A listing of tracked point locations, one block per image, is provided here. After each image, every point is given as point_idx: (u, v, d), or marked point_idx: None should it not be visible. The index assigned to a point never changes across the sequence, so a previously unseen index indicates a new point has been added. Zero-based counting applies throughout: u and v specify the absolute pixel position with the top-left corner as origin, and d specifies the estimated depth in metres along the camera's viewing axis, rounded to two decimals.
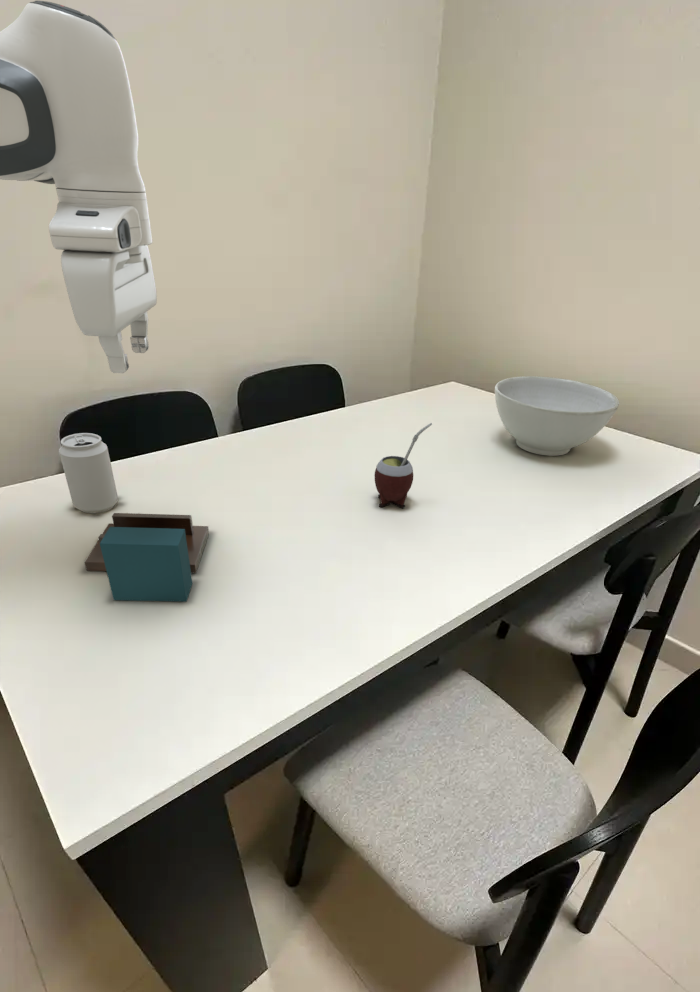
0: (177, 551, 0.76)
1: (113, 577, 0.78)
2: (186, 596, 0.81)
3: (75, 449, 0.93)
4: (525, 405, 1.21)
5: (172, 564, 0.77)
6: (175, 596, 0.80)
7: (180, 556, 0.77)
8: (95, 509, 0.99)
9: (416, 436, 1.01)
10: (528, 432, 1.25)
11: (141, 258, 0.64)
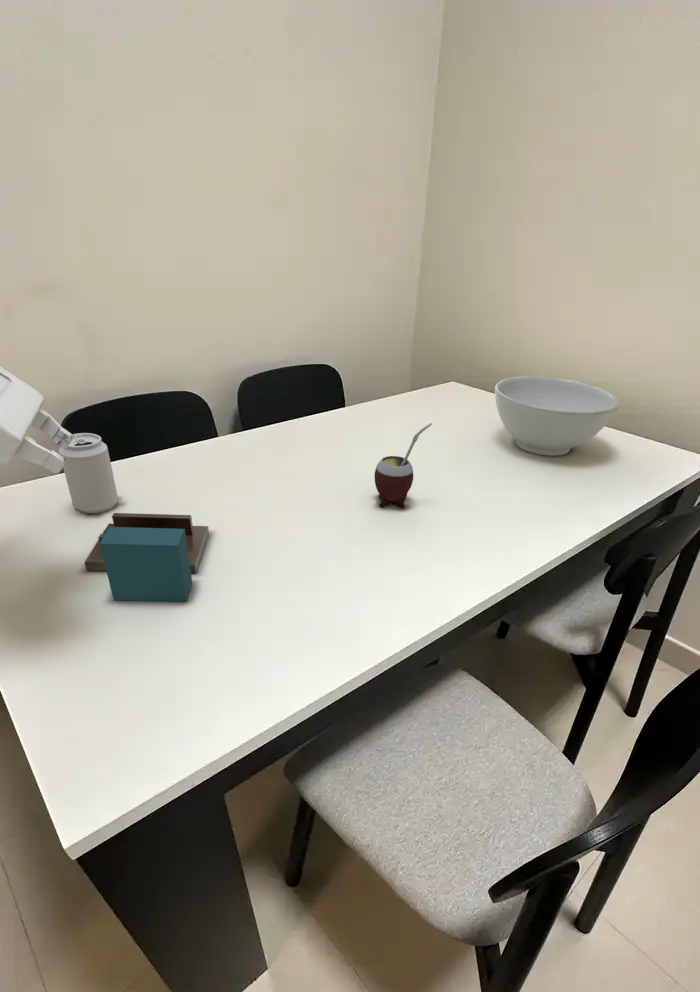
0: (177, 551, 0.76)
1: (113, 577, 0.78)
2: (186, 596, 0.81)
3: (75, 449, 0.93)
4: (525, 405, 1.21)
5: (172, 564, 0.77)
6: (175, 596, 0.80)
7: (180, 556, 0.77)
8: (95, 509, 0.99)
9: (416, 436, 1.01)
10: (528, 432, 1.25)
11: None
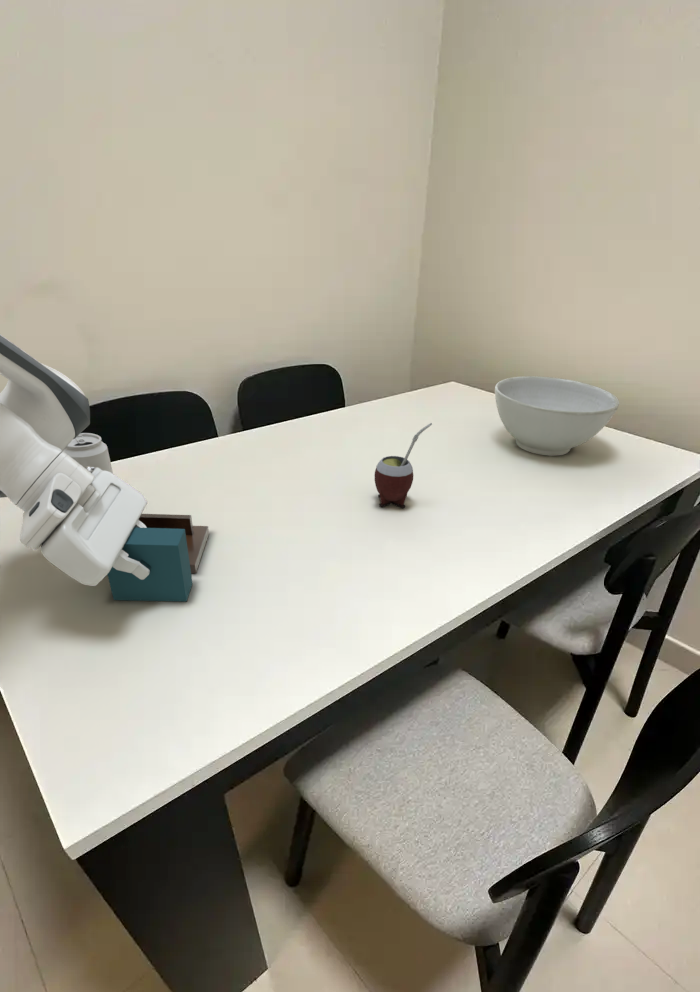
0: (177, 551, 0.76)
1: (113, 577, 0.78)
2: (186, 596, 0.81)
3: (75, 449, 0.93)
4: (525, 405, 1.21)
5: (172, 564, 0.77)
6: (175, 596, 0.80)
7: (180, 556, 0.77)
8: None
9: (416, 436, 1.01)
10: (528, 432, 1.25)
11: (95, 495, 0.73)
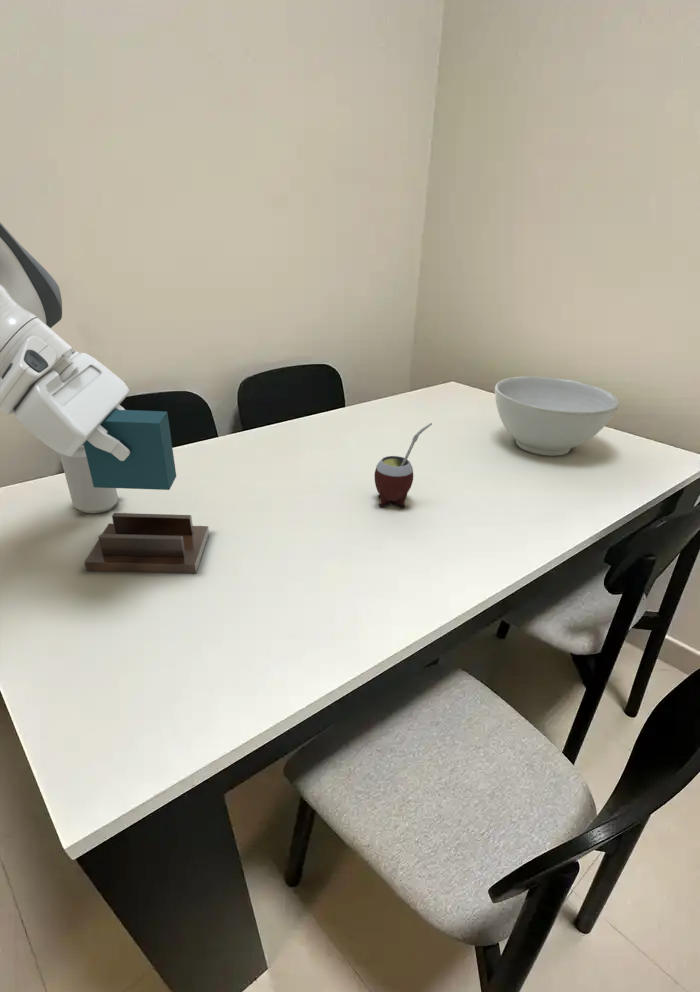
0: (158, 430, 0.73)
1: (92, 460, 0.75)
2: (169, 484, 0.78)
3: None
4: (525, 405, 1.21)
5: (154, 445, 0.74)
6: (158, 484, 0.77)
7: (162, 437, 0.74)
8: (95, 509, 0.99)
9: (416, 436, 1.01)
10: (528, 432, 1.25)
11: (73, 366, 0.70)
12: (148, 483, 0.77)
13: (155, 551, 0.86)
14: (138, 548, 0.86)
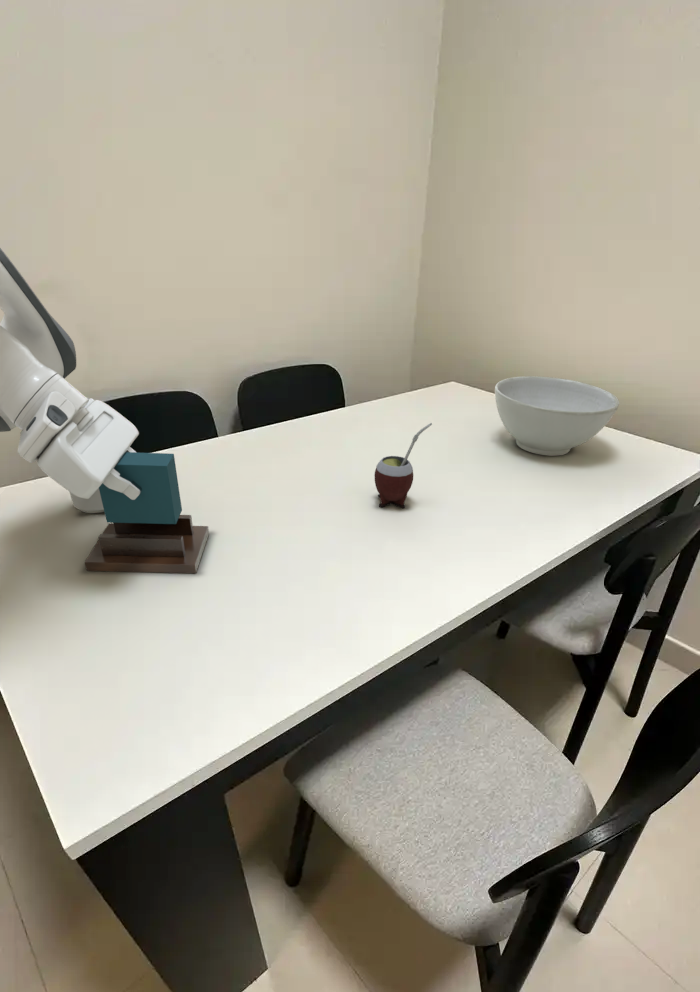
0: (166, 472, 0.80)
1: (106, 499, 0.83)
2: (175, 519, 0.85)
3: None
4: (525, 405, 1.21)
5: (162, 485, 0.82)
6: (165, 519, 0.85)
7: (169, 477, 0.81)
8: (95, 509, 0.99)
9: (416, 436, 1.01)
10: (528, 432, 1.25)
11: (89, 416, 0.77)
12: (156, 518, 0.85)
13: (155, 551, 0.86)
14: (138, 548, 0.86)
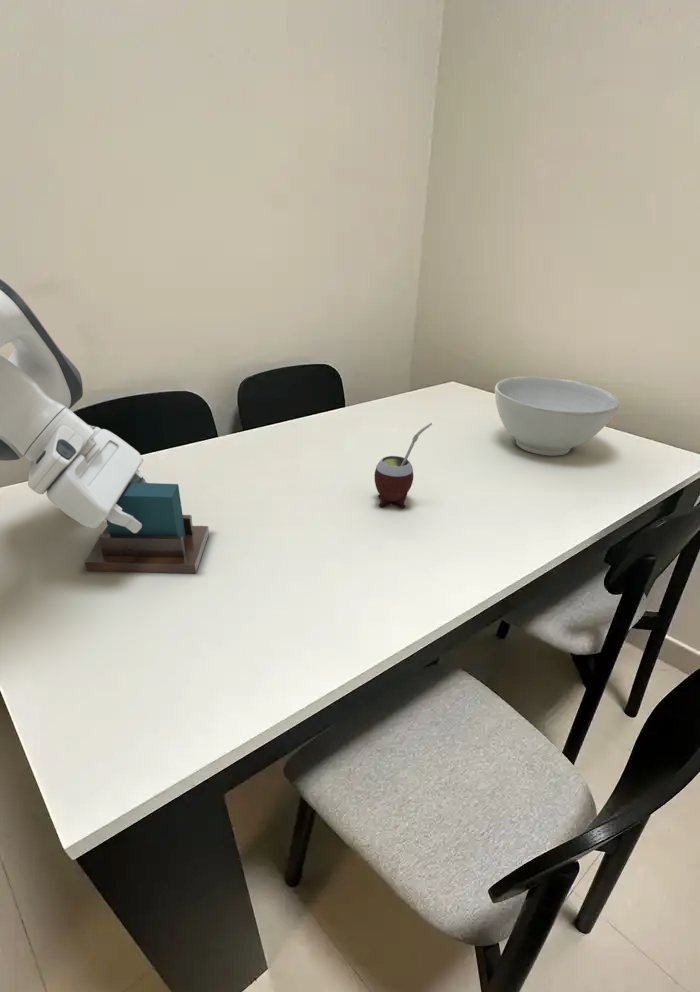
0: (171, 502, 0.83)
1: (113, 528, 0.86)
2: None
3: None
4: (525, 405, 1.21)
5: (167, 515, 0.84)
6: None
7: (174, 508, 0.84)
8: None
9: (416, 436, 1.01)
10: (528, 432, 1.25)
11: (96, 448, 0.80)
12: None
13: (155, 551, 0.86)
14: (138, 548, 0.86)
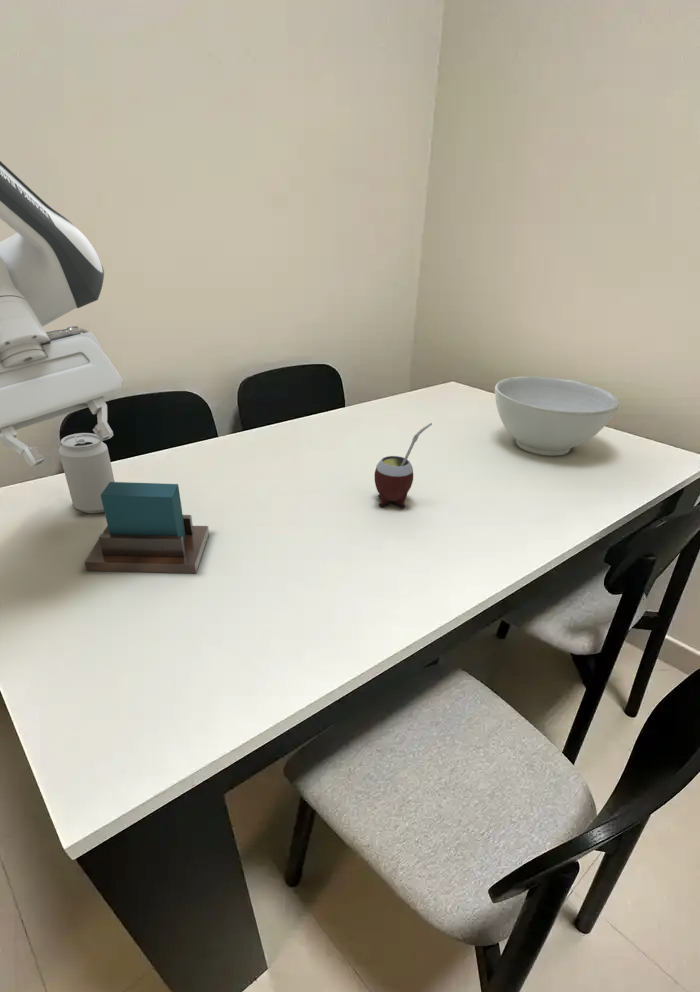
0: (171, 502, 0.83)
1: (113, 528, 0.86)
2: None
3: (75, 449, 0.93)
4: (525, 405, 1.21)
5: (167, 515, 0.84)
6: None
7: (174, 508, 0.84)
8: (95, 509, 0.99)
9: (416, 436, 1.01)
10: (528, 432, 1.25)
11: (25, 354, 0.67)
12: None
13: (155, 551, 0.86)
14: (138, 548, 0.86)
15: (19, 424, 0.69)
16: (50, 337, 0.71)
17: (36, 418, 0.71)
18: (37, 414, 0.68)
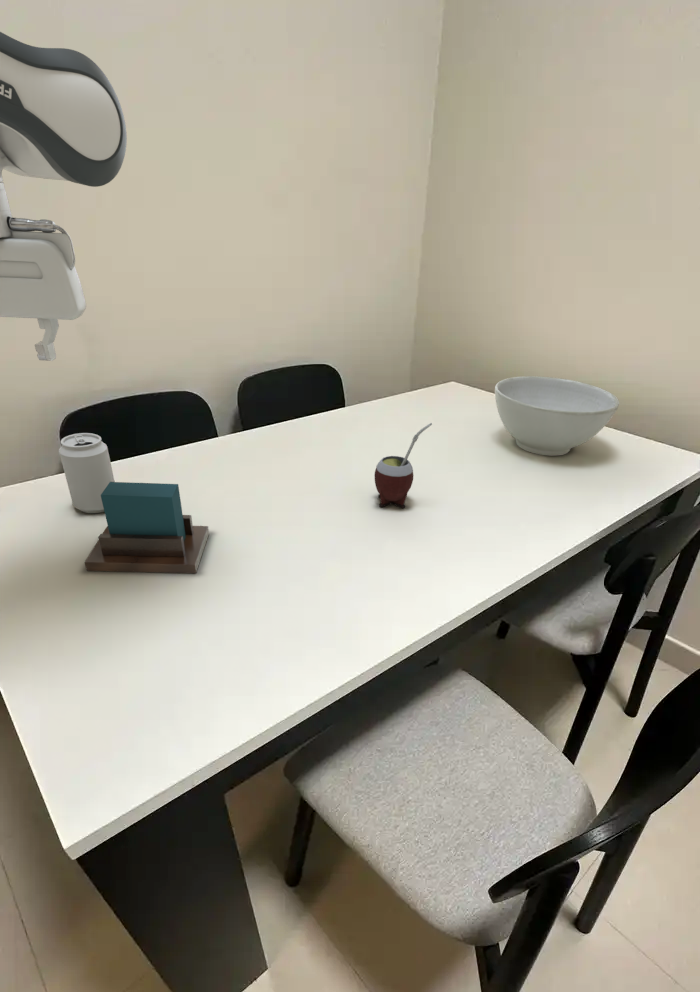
0: (171, 502, 0.83)
1: (113, 528, 0.86)
2: None
3: (75, 449, 0.93)
4: (525, 405, 1.21)
5: (167, 515, 0.84)
6: None
7: (174, 508, 0.84)
8: (95, 509, 0.99)
9: (416, 436, 1.01)
10: (528, 432, 1.25)
11: None
12: None
13: (155, 551, 0.86)
14: (138, 548, 0.86)
15: None
16: (12, 227, 0.60)
17: None
18: None
